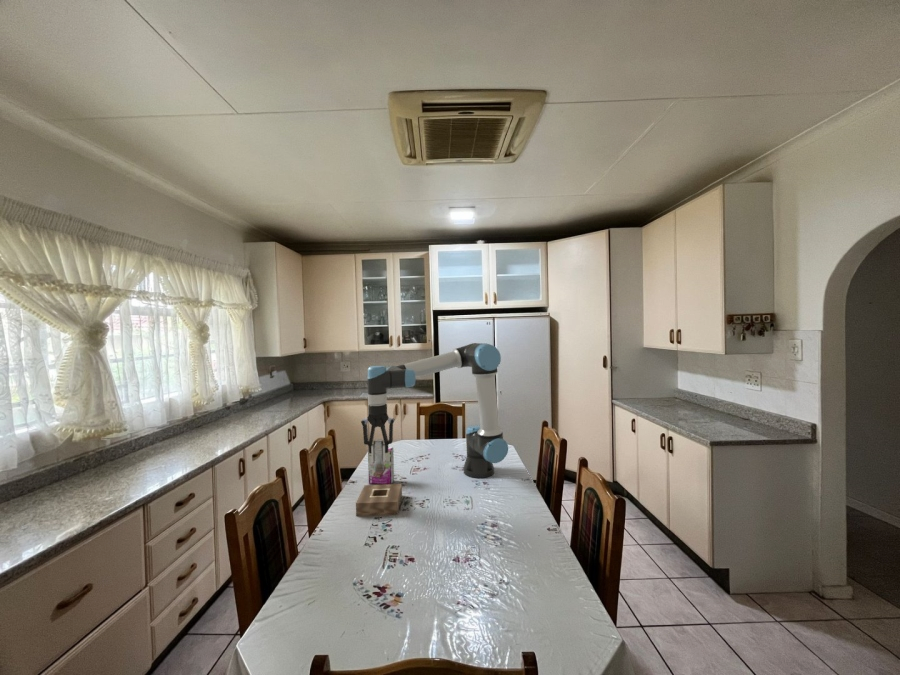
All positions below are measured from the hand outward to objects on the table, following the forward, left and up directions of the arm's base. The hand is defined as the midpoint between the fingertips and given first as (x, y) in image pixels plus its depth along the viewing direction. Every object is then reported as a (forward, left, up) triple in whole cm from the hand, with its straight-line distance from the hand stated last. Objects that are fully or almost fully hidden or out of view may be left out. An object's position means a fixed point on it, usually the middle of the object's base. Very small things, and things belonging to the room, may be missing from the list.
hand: (378, 460), depth 145 cm
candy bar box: (+3, -22, -19) cm, 29 cm away
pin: (0, 0, -4) cm, 4 cm away
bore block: (0, 0, -18) cm, 18 cm away
